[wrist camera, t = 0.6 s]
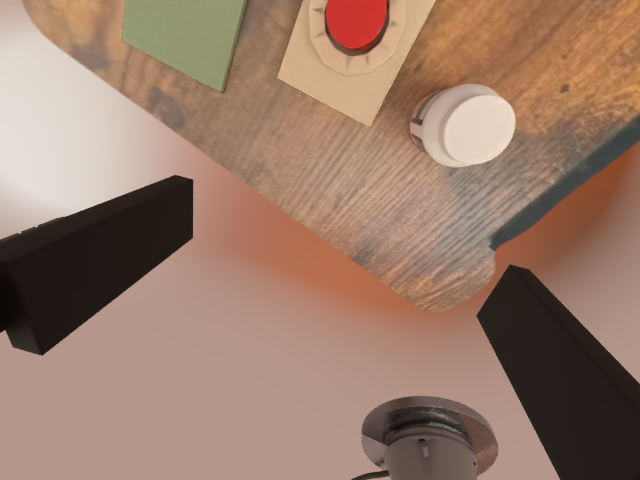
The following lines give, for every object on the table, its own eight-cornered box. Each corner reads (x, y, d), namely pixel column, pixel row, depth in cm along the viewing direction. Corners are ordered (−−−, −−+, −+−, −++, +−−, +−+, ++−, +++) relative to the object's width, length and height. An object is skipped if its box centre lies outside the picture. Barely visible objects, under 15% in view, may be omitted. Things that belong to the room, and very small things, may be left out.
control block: (369, 125, 26) (369, 129, 23) (283, 80, 26) (269, 76, 22) (450, -30, 21) (467, -58, 17) (343, -93, 20) (338, -136, 17)
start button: (367, 62, 21) (367, 58, 20) (320, 36, 21) (316, 30, 19) (396, 0, 19) (398, -9, 18) (344, -30, 19) (343, -41, 17)
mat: (223, 93, 27) (220, 92, 26) (126, 42, 26) (121, 41, 26) (256, -35, 22) (253, -38, 22) (140, -100, 22) (134, -105, 21)
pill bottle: (472, 146, 26) (527, 167, 17) (412, 158, 27) (433, 184, 18) (471, 80, 24) (533, 66, 15) (405, 98, 25) (427, 94, 16)
